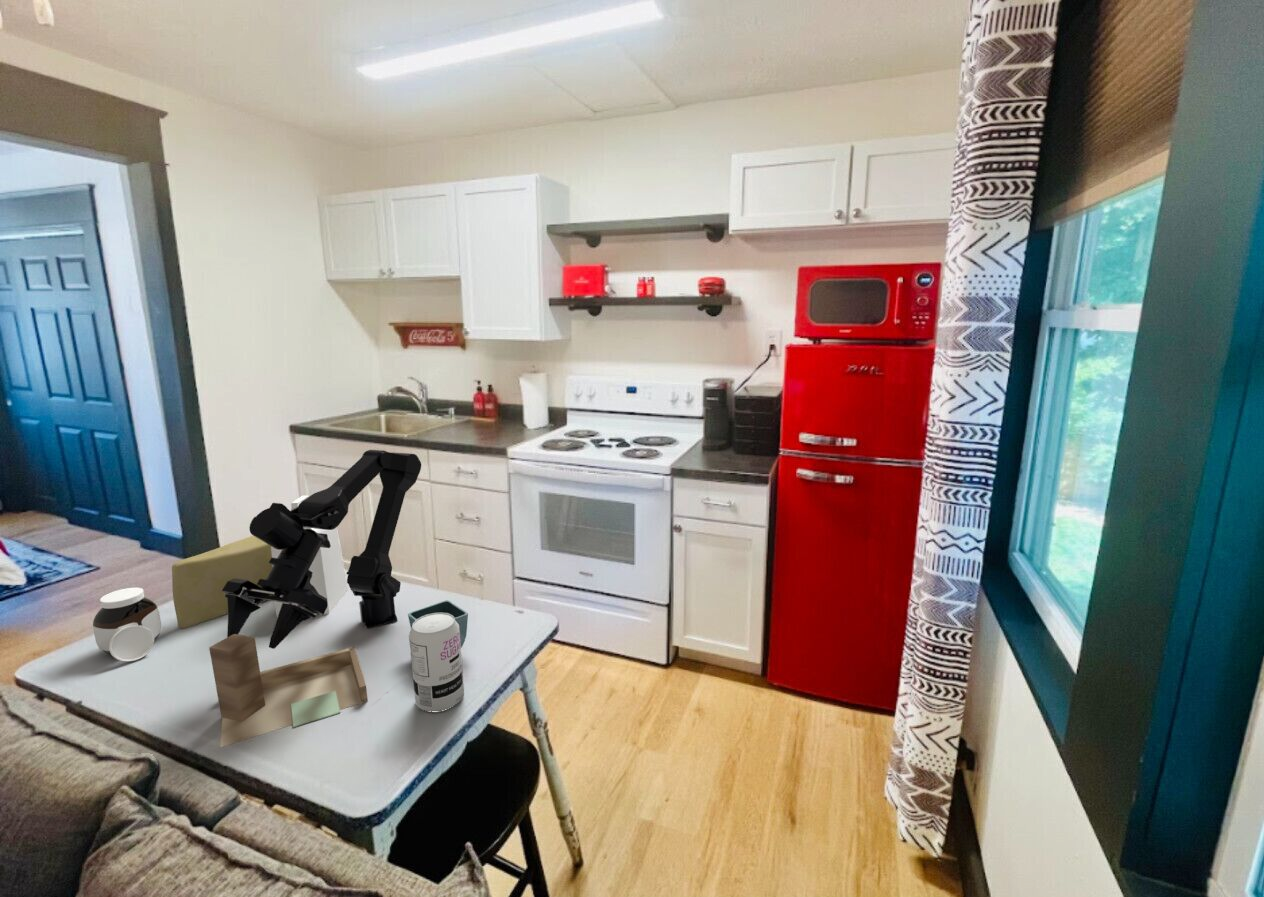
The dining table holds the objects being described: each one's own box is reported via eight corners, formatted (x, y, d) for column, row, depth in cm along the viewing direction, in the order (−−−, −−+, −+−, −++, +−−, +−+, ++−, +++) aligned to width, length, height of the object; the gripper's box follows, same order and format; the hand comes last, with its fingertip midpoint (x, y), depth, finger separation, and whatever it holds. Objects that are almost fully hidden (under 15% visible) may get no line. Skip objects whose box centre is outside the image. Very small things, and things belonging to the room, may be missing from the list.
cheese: (191, 634, 128) (179, 569, 124) (169, 623, 132) (157, 561, 129) (291, 594, 146) (283, 536, 143) (269, 585, 151) (261, 530, 148)
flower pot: (450, 637, 125) (447, 598, 123) (472, 654, 119) (469, 613, 117) (410, 654, 119) (406, 613, 117) (430, 672, 113) (426, 629, 111)
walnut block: (245, 701, 104) (234, 633, 101) (265, 705, 103) (254, 637, 100) (221, 717, 100) (209, 647, 97) (241, 721, 99) (230, 651, 96)
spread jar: (141, 632, 129) (131, 582, 126) (184, 637, 126) (175, 587, 124) (81, 663, 117) (68, 609, 115) (127, 669, 115) (115, 614, 112)
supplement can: (422, 687, 108) (415, 612, 105) (468, 684, 109) (462, 609, 106) (410, 716, 100) (402, 635, 97) (459, 713, 101) (453, 633, 98)
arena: (356, 662, 116) (354, 646, 116) (369, 705, 103) (366, 688, 102) (224, 699, 105) (221, 682, 105) (220, 753, 92) (216, 734, 91)
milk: (299, 593, 146) (285, 492, 141) (348, 590, 148) (336, 490, 142) (276, 617, 135) (260, 508, 129) (329, 614, 136) (315, 505, 130)
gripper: (361, 582, 114) (323, 664, 106) (284, 571, 119) (242, 649, 111) (325, 558, 105) (280, 647, 97) (244, 548, 110) (195, 631, 102)
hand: (250, 644), depth 102 cm, fingers open, 9 cm apart
